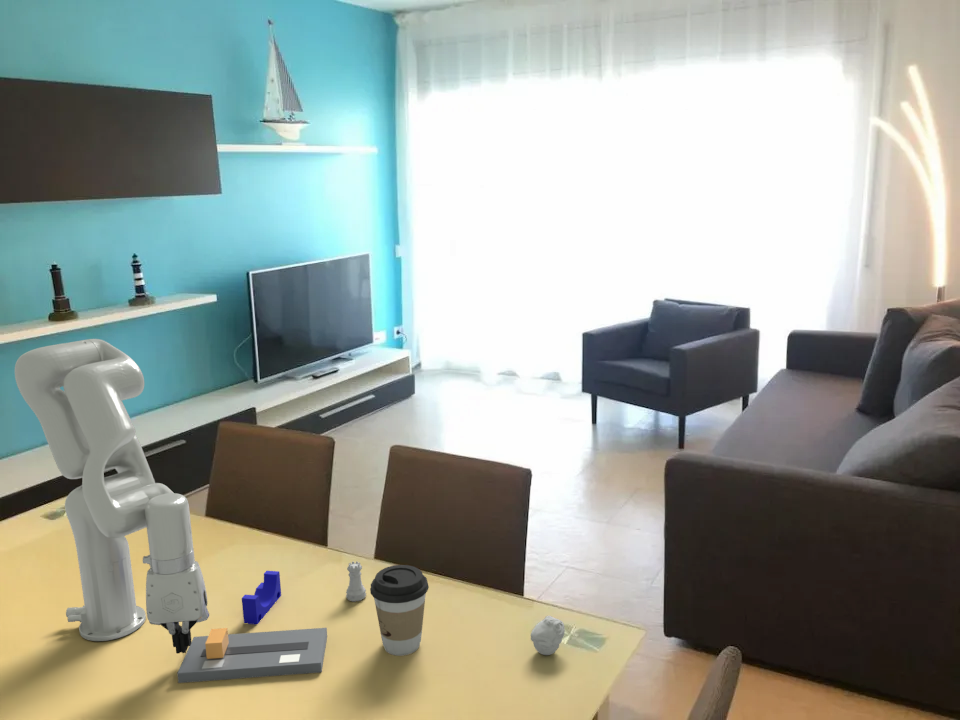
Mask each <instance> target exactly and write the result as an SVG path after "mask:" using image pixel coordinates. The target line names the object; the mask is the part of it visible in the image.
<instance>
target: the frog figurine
mask: <svg viewBox="0 0 960 720" xmlns="http://www.w3.org/2000/svg"><path fill="white" fill-rule="evenodd" d="M565 630H566V629H565V623H564V622H563V620H560V619H559V618H555V617H553V616H551V615H546V616H545V617H544V619H542V620H541V621H539V622H538V623H537V624H535V626H534V628H533V629H532V630H531V633H530V641H531V642H532V643H533V647H534V649H535V650H536V651H537V652H538V653H539V654H541V655H544V656H550V655H553V654H554V653H555V652H557V650H558V649H559V647H560V644H562V641H563V638H564V637H565V633H566V631H565Z"/></svg>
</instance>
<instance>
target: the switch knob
mask: <svg viewBox="0 0 960 720" xmlns="http://www.w3.org/2000/svg"><path fill="white" fill-rule="evenodd" d="M228 631H229V630H228V627H223V628H221V627H219V628H211V629H210V632H209V633H208V635H207V636H208V638H207V641H206V643H205V646H206V655H207V659H212V658H223V657H224V654H225V652H226V649H227V646H228V644H229V639H228V634H229V632H228Z"/></svg>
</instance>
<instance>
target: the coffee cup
mask: <svg viewBox="0 0 960 720" xmlns="http://www.w3.org/2000/svg"><path fill="white" fill-rule="evenodd" d="M369 591H370V594H371V596H372V597H373V598H374V605H375V610H376V616H377V621H378V627H379V631H380V635H381V642H382V645H383V647H384V650H385V652H386V653H388V654H390V655H393V656H398V657H400V656H408V655H410V654H411V655H412V654H413V653H415V652H416V651H417V650H418V649H419V648H420V644H421V641H422V633H423V623H424V615H425V614H424V613H425V604H426V594H427V592H428V591H429V583H428V578H427V576H425V575H424V574H423V572H422V570H421V569H420V568H418V567H416V566H413V565H408V564H396V565H391V566H387V567H384V568H382V569H381V570H379V571H378V572H377V573H376V575H375V577H374V578H373V579H372V581H371V583H370V588H369Z"/></svg>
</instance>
